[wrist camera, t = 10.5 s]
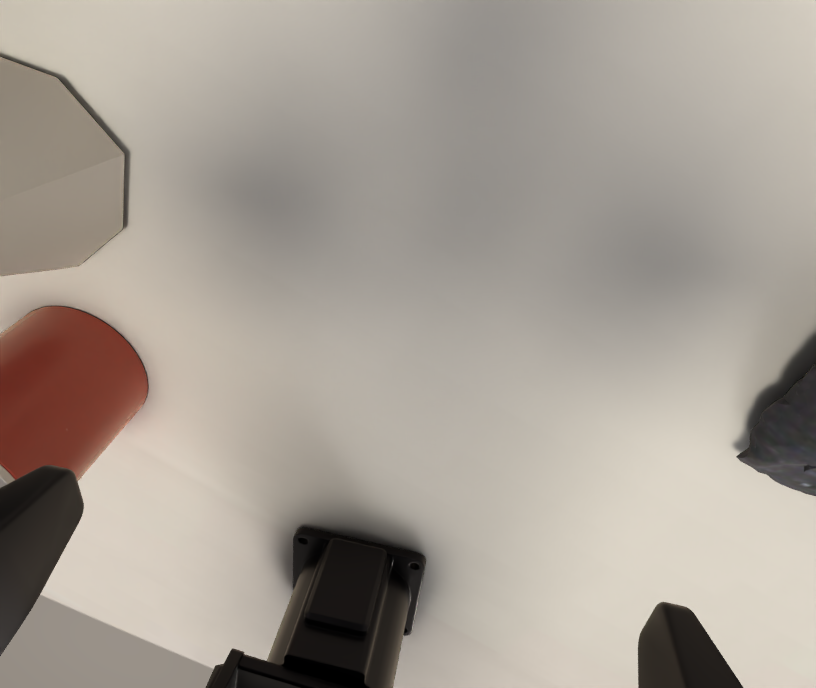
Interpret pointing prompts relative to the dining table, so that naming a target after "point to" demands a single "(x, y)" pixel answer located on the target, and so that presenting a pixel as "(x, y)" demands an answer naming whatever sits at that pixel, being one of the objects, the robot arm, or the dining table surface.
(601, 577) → the dining table surface
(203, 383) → the dining table surface
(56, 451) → the tin can
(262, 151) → the dining table surface
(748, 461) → the dark grey cloth
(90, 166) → the flask
